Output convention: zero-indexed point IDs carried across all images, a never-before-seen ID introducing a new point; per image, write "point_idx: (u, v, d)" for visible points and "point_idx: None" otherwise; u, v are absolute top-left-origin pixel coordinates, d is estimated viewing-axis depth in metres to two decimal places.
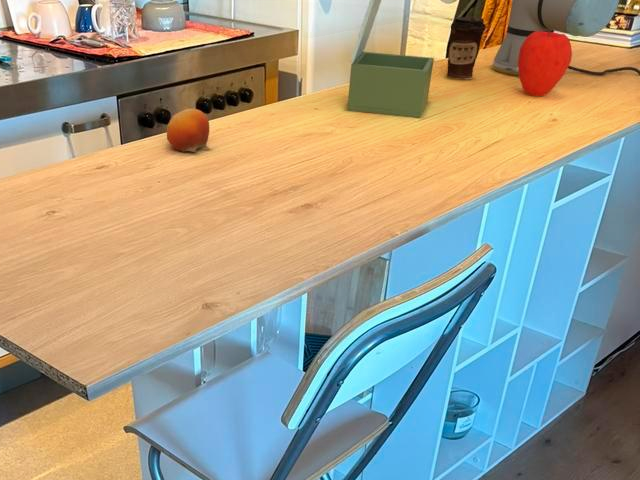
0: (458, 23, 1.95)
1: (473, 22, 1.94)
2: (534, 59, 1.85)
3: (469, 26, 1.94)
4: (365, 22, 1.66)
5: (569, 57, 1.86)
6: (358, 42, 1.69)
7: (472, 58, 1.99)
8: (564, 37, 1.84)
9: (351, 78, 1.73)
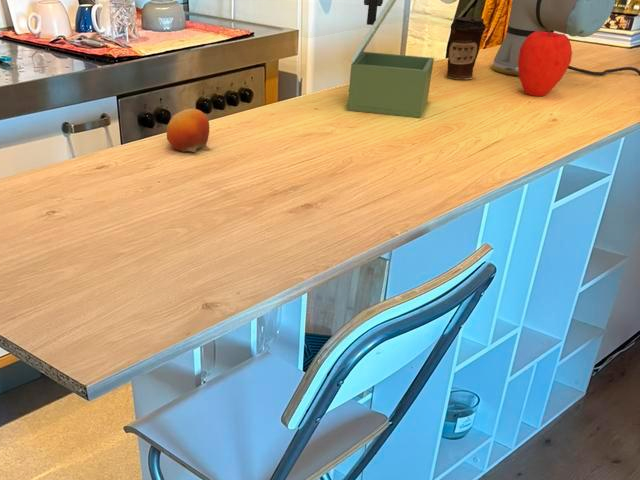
0: (458, 23, 1.95)
1: (473, 22, 1.94)
2: (534, 59, 1.85)
3: (469, 26, 1.94)
4: (374, 27, 1.66)
5: (569, 57, 1.86)
6: (362, 45, 1.69)
7: (472, 58, 1.99)
8: (564, 37, 1.84)
9: (351, 78, 1.73)
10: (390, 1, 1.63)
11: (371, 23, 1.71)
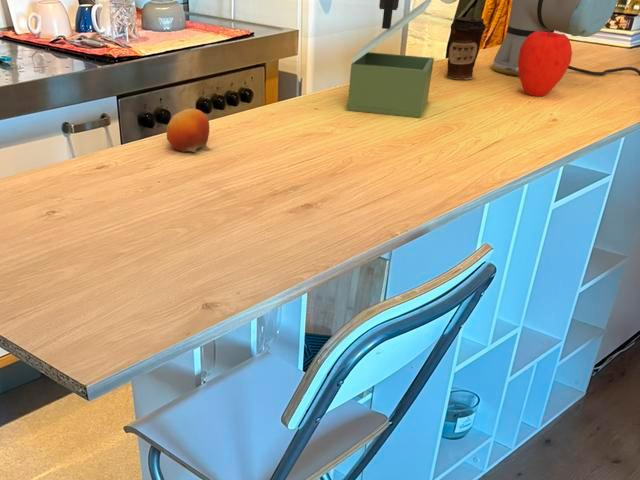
0: (458, 23, 1.95)
1: (473, 22, 1.94)
2: (534, 59, 1.85)
3: (469, 26, 1.94)
4: (383, 39, 1.67)
5: (569, 57, 1.86)
6: (367, 50, 1.69)
7: (472, 58, 1.99)
8: (564, 37, 1.84)
9: (351, 78, 1.73)
10: (406, 22, 1.64)
11: (386, 27, 1.71)
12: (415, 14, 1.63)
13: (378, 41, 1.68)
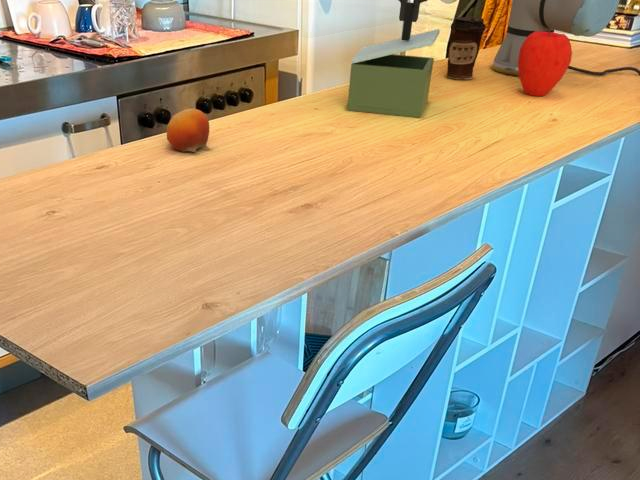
0: (458, 23, 1.95)
1: (473, 22, 1.94)
2: (534, 59, 1.85)
3: (469, 26, 1.94)
4: (387, 54, 1.69)
5: (569, 57, 1.86)
6: (369, 58, 1.70)
7: (472, 58, 1.99)
8: (564, 37, 1.84)
9: (351, 78, 1.73)
10: (414, 47, 1.67)
11: (406, 39, 1.71)
12: (424, 44, 1.66)
13: (382, 53, 1.69)
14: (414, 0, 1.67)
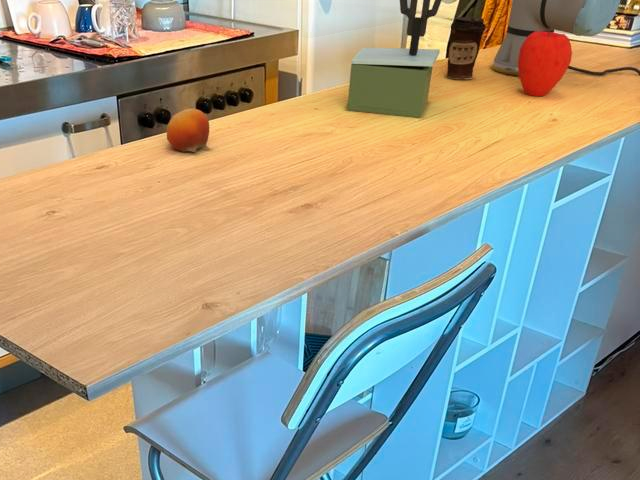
0: (458, 23, 1.95)
1: (473, 22, 1.94)
2: (534, 59, 1.85)
3: (469, 26, 1.94)
4: (387, 63, 1.70)
5: (569, 57, 1.86)
6: (369, 62, 1.71)
7: (472, 58, 1.99)
8: (564, 37, 1.84)
9: (351, 78, 1.73)
10: (414, 64, 1.68)
11: (414, 53, 1.72)
12: (424, 63, 1.68)
13: (383, 62, 1.70)
14: (422, 15, 1.68)
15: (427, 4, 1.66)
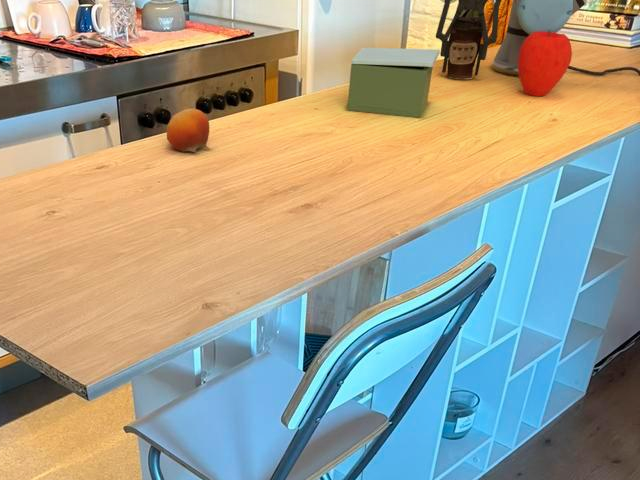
0: (458, 23, 1.95)
1: (473, 22, 1.94)
2: (534, 59, 1.85)
3: (469, 26, 1.94)
4: (387, 63, 1.70)
5: (569, 57, 1.86)
6: (369, 62, 1.71)
7: (472, 58, 1.99)
8: (564, 37, 1.84)
9: (351, 78, 1.73)
10: (414, 64, 1.68)
11: (475, 74, 2.02)
12: (424, 63, 1.68)
13: (383, 62, 1.70)
14: (483, 43, 1.98)
15: (485, 33, 1.96)
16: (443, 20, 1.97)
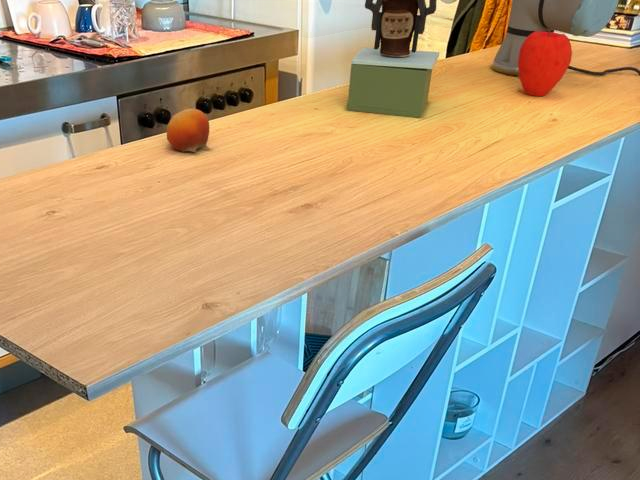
0: None
1: None
2: (534, 59, 1.85)
3: None
4: (387, 64, 1.70)
5: (569, 57, 1.86)
6: (369, 63, 1.71)
7: (408, 31, 1.69)
8: (564, 37, 1.84)
9: (351, 78, 1.73)
10: (414, 66, 1.69)
11: (412, 51, 1.72)
12: (424, 66, 1.68)
13: (383, 63, 1.70)
14: (420, 13, 1.68)
15: (422, 1, 1.66)
16: None
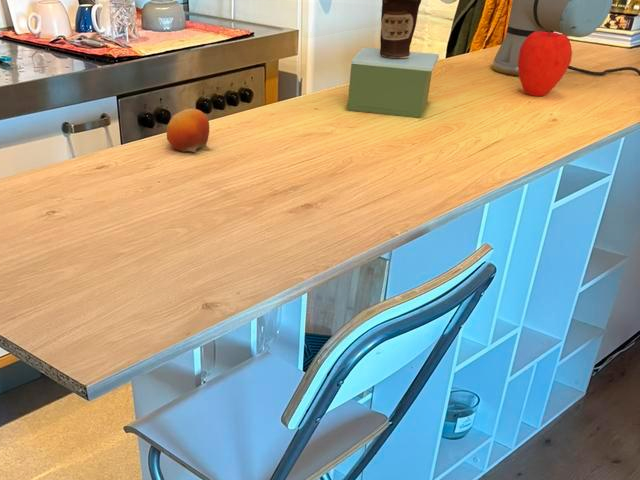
0: None
1: None
2: (534, 59, 1.85)
3: None
4: (387, 65, 1.70)
5: (569, 57, 1.86)
6: (369, 63, 1.71)
7: (408, 33, 1.70)
8: (564, 37, 1.84)
9: (351, 78, 1.73)
10: (413, 68, 1.69)
11: None
12: (424, 68, 1.68)
13: (382, 64, 1.70)
14: None
15: None
16: None
